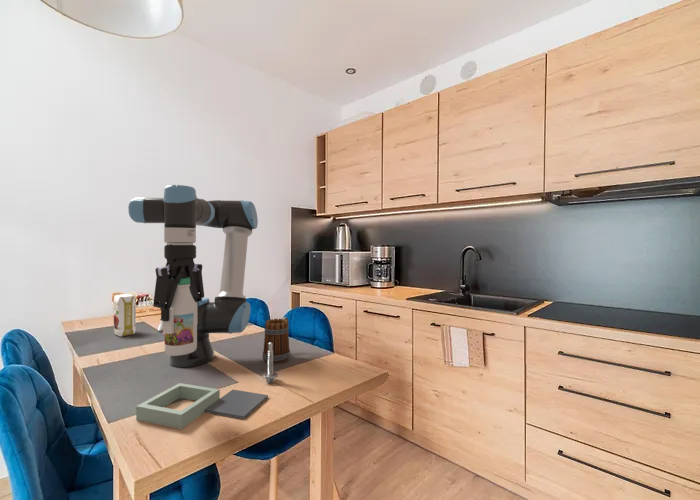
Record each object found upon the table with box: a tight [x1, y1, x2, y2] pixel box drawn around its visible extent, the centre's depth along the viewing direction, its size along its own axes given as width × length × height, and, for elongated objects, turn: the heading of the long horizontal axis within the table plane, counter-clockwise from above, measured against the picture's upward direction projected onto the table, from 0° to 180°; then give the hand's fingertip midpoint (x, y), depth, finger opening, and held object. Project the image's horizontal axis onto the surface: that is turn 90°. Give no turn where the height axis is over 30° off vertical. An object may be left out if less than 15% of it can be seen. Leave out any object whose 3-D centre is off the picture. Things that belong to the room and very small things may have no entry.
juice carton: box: [113, 293, 137, 337], centre depth 154 cm, size 8×9×19 cm
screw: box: [262, 342, 279, 384], centre depth 104 cm, size 13×5×5 cm
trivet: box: [204, 389, 269, 420], centre depth 89 cm, size 12×12×1 cm
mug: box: [262, 316, 291, 365], centre depth 126 cm, size 16×11×15 cm
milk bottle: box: [164, 277, 197, 357], centre depth 85 cm, size 8×8×20 cm
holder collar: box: [135, 382, 221, 430], centre depth 86 cm, size 14×14×4 cm
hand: (180, 328), depth 85 cm, fingers closed on milk bottle, 8 cm apart
